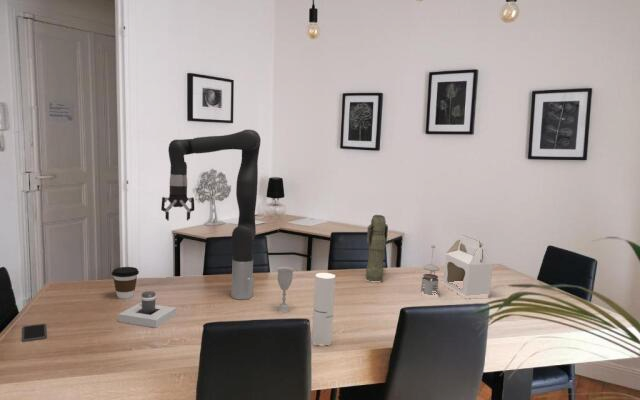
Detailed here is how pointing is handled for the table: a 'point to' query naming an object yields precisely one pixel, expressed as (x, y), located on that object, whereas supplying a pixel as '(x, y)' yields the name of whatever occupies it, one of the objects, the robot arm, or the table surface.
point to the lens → (148, 303)
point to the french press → (427, 282)
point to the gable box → (468, 267)
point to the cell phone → (34, 332)
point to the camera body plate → (154, 320)
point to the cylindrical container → (323, 308)
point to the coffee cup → (125, 281)
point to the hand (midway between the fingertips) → (177, 220)
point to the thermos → (376, 247)
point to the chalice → (284, 284)
